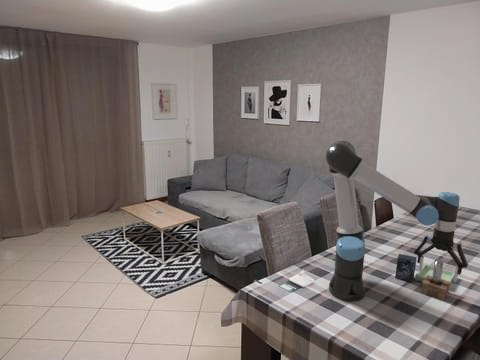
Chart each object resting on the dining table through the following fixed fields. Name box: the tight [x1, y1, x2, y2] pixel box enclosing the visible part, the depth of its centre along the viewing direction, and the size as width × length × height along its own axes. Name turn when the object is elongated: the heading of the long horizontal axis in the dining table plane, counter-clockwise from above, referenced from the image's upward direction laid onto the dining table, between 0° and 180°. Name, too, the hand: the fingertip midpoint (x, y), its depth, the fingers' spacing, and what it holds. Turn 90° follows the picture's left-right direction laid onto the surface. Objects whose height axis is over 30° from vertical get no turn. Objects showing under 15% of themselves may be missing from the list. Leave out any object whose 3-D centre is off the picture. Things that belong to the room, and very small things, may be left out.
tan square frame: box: [420, 275, 451, 301], centre depth 152 cm, size 9×9×5 cm
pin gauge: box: [432, 258, 445, 285], centre depth 150 cm, size 3×3×15 cm
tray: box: [414, 263, 455, 288], centre depth 164 cm, size 16×14×2 cm
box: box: [394, 253, 418, 283], centre depth 164 cm, size 8×6×11 cm
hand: (437, 275), depth 150 cm, fingers open, 13 cm apart
